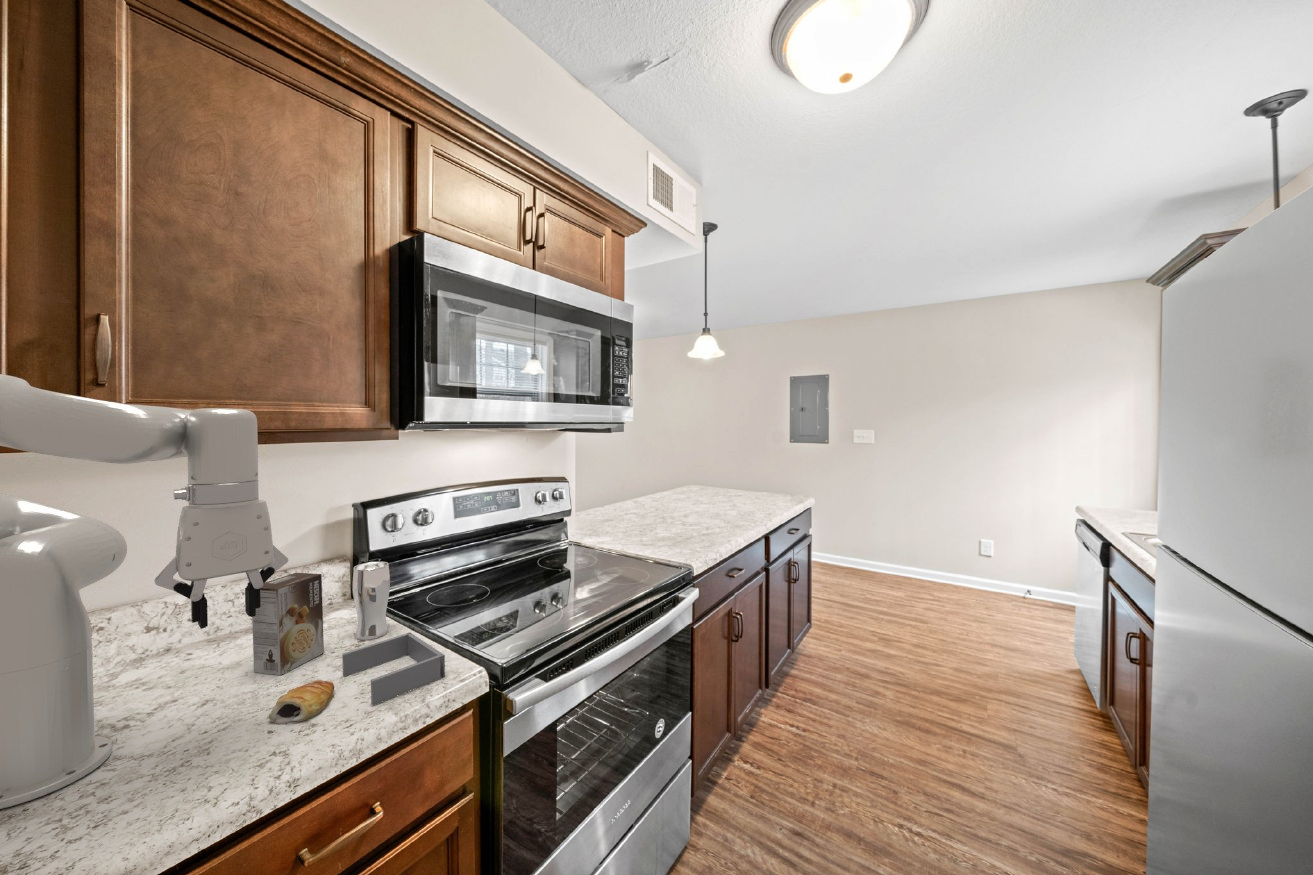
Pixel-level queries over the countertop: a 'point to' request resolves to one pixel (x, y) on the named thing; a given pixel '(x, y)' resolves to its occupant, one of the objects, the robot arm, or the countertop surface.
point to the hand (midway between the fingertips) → (227, 618)
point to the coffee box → (288, 623)
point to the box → (402, 679)
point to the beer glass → (371, 599)
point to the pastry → (302, 702)
